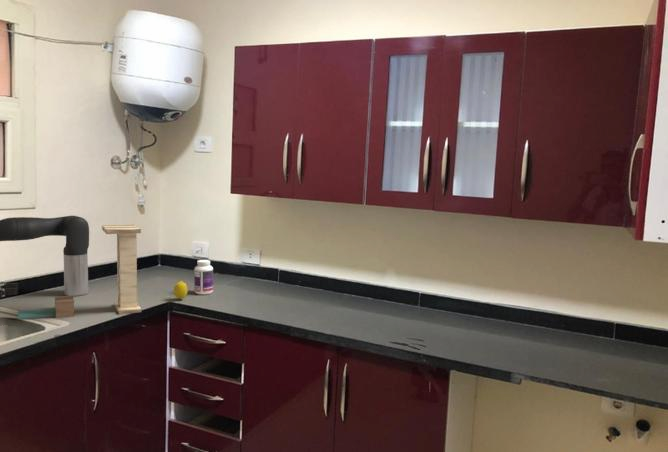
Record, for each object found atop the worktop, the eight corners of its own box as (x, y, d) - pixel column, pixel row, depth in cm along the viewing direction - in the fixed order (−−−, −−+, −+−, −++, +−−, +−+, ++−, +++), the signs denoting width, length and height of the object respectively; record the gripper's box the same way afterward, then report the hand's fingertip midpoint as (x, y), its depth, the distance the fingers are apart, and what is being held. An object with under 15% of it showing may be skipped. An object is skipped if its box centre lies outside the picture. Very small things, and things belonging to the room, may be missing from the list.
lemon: (183, 301, 229) (183, 282, 228) (171, 300, 230) (171, 281, 229) (189, 298, 234) (189, 280, 233) (177, 297, 235) (177, 279, 234)
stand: (103, 305, 219) (101, 225, 215) (135, 302, 225) (134, 224, 221) (107, 315, 206) (106, 230, 202) (141, 312, 212) (140, 229, 208)
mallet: (18, 315, 202) (17, 299, 201) (72, 310, 211) (72, 295, 210) (18, 321, 195) (17, 304, 194) (74, 316, 204) (74, 300, 203)
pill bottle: (214, 291, 249) (214, 259, 247) (211, 295, 241) (211, 262, 239) (196, 290, 249) (196, 259, 247) (192, 295, 241) (192, 262, 239)
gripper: (-34, 298, 196) (18, 294, 204) (-39, 308, 184) (17, 303, 191) (-35, 277, 195) (18, 274, 203) (-40, 286, 183) (17, 282, 191)
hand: (17, 288), depth 197 cm, fingers open, 8 cm apart
